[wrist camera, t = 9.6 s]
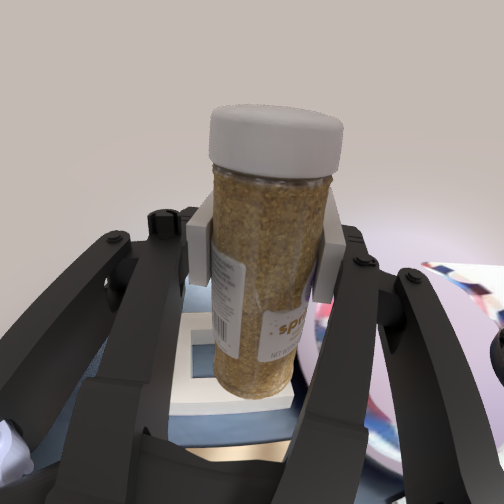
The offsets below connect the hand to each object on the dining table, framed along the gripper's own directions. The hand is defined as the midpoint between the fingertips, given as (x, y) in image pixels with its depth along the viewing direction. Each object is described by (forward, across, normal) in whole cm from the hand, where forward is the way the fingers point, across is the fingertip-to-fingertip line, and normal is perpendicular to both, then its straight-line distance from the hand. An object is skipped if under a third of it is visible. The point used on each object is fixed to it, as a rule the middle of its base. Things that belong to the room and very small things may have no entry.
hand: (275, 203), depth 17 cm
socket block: (+4, -4, -20) cm, 21 cm away
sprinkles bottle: (-5, 0, -8) cm, 10 cm away
